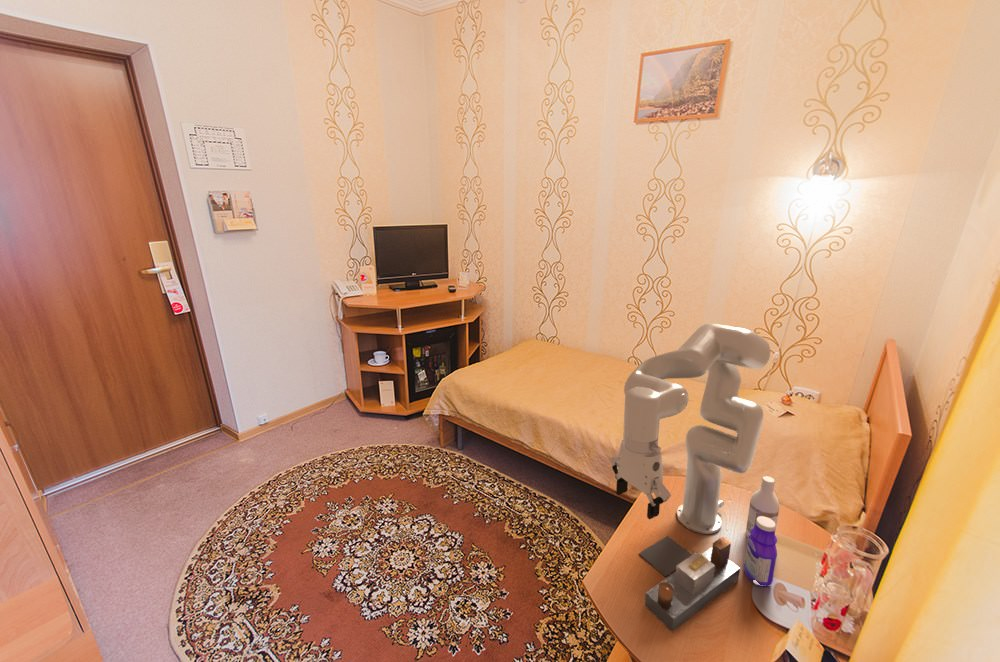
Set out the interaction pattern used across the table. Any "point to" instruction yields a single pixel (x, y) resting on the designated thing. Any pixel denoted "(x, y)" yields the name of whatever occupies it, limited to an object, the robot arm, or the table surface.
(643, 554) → the rubber mat
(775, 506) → the bath foam
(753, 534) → the bottle
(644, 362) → the robot arm
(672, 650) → the table surface
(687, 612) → the body
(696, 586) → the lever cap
